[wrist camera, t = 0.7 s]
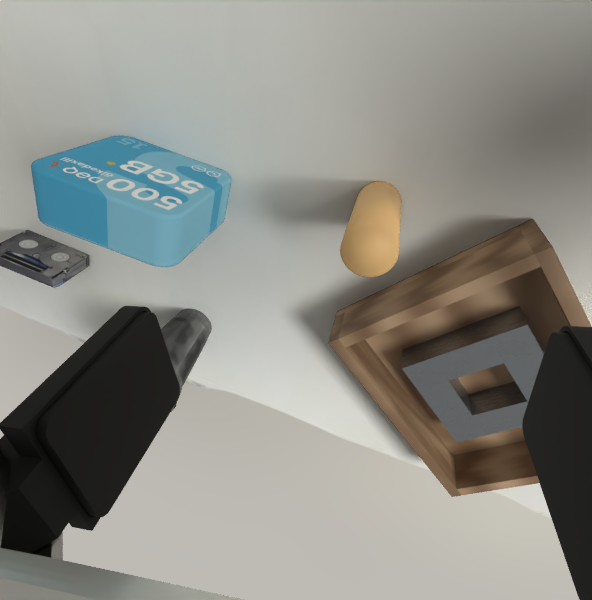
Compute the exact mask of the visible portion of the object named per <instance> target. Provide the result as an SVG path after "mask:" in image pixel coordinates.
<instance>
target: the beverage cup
mask: <svg viewBox="0 0 592 600" xmlns="http://www.w3.org/2000/svg"><path fill="white" fill-rule="evenodd" d="M211 329H212V328H211V323H210V321H209V319H208V318H207V317H206V316H205V315H204V314H202V313H201V312H199V311H197V310H194V309H185V310H183V311H181V312H180V314H178V315H177V316H176V317H174V318H173V319H172V320H171V321H170V322H169V323H167V324H166V325H165V326H164V327H163V328H162V329H161V332H162V335H163V338H164V341H165V344H166V347H167V350H168V353H169V356H170V359H171V362H172V365H173V367H174V370H175V373H176V376H177V379H178V382H179V385H180V393H181V390H182V386H183V384H184V383H185V381H186V379H187V377H188V375H189V373H190V371H191V370H192V368H193V366H194V364H195V362H196V360H197V358H198V356H199V355H200V353H201V351H202V349H203V347H204V345H205V343H206V341H207V338H208V336H209V334H210V333H211ZM176 403H177V402H176ZM175 407H176V404H175V405H174V407H173V408H172V410H173V409H174V408H175ZM172 410H171V411H172Z"/></svg>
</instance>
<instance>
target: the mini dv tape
mask: <svg viewBox="0 0 592 600" xmlns="http://www.w3.org/2000/svg"><path fill="white" fill-rule="evenodd" d="M89 265H90V264H89V255H88V254H86V253H83V252H81V251H78V250H76V249H73V248H71V247H68V246H66V245H64V244H61V243H59V242H56V241H54V240H51V239H49V238H46V237H44V236H41V235H39V234H37V233H34V232H32V231H29V230H26V231H24V232H22V233H20V234H18V235H16V236H14V237H12V238H10V239H8V240H6V241H4V242H2V243H0V266H2V267H5V268H7V269H10V270H12V271H14V272H17V273H19V274H22V275H24V276H27V277H29V278H32V279H34V280H37V281H39V282H41V283H44V284H46V285H49V286H51V287H54V288H55V287H58V286H60V285H62V284H63V283H64V282H66V281H67V280H69V279H70V278H72V277H73V276H75V275H76V274H78V273H79V272H81V271H82V270H84V269H85V268H86V267H88V266H89Z"/></svg>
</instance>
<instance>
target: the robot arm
mask: <svg viewBox="0 0 592 600" xmlns="http://www.w3.org/2000/svg"><path fill="white" fill-rule="evenodd" d="M179 395H180V385H179V382H178V379H177V376H176V373H175V370H174V367H173V365H172V362H171V359H170V356H169V353H168V350H167V347H166V344H165V341H164V338H163V335H162V332H161V329H160V326H159V323H158V320H157V317H156V315H155V314H154V313H151V311H150V310H149V309H148V308H147V307H138V306H124V307H122V308H121V309H120V310H119V311H118V312H117V313H116V314H115V315H114V316H112V317H111V318H110V319H109V320H108V321H107V322H106V323H105V324H104V325H103V326H102V327H101V328H100V329H99V330H98V331H97V332H96V333H95V334H94V335H92V336H91V337H90V338H89V339H88V340H87V341H86V342H85V343H84V344H83V345H82V346H81V347H80V348H79V349H78V350H77V351H76V352H75V353H74V354H73V355H71V356H70V357H69V358H68V359H67V360H66V361H65V362H64V363H63V364H62V365H61V366H60V367H59V368H58V369H57V370H56V371H55V372H54V373H52V375H50V377H48V378H47V379H46V380H45V381H44V382H43V383H42V384H41V385H40V386H39V387H38V388H37V389H36V390H35V391H34V392H33V393H31V394H30V395H29V396H28V397H27V398H26V399H25V400H24V401H23V402H22V403H21V404H20V405H19V406H18V407H17V408H16V409H15V410H14V411H12V412H11V413H10V414H9V416H7V417H6V418H5V419H4V420H3V421H2V422H1V423H0V429H1V431H2V432H3V434H4V436H3V437H2V438H1V439H0V600H242V599H238V598H233V597H229V596H224V595H219V594H215V593H210V592H206V591H202V590H197V589H192V588H188V587H183V586H179V585H174V584H170V583H165V582H161V581H156V580H151V579H147V578H142V577H138V576H133V575H128V574H124V573H119V572H114V571H109V570H105V569H100V568H96V567H91V566H86V565H82V564H77V563H72V562H68V561H63V560H62V559H63V552H62V551H63V550H62V549H63V538H62V537H63V533H62V531H63V530H64V528H65V527H66V525H67V524H68V522H69V523H70V525H71V526H72V527H76V528H81V529H86V530H93V529H94V527H95V525H96V524H97V522H98V521H99V519H100V517H103V516H105V515H106V514H107V513H108V512H109V511H110V509H111V507H112V506H113V504H114V503H115V501H116V499H117V498H118V496H119V495H120V493H121V491H122V490H123V488H124V486H125V485H126V483H127V481H128V480H129V478H130V477H131V475H132V473H133V472H134V470H135V468H136V467H137V465H138V463H139V462H140V460H141V459H142V457H143V456H144V454H145V452H146V451H147V449H148V447H149V446H150V444H151V442H152V441H153V439H154V438H155V436H156V434H157V433H158V431H159V430H160V428H161V426H162V425H163V423H164V421H165V420H166V418H167V417H168V415H169V413H170V412H171V410H172V408H173V407H174V405H175V404H176V402H177V400H178V398H179ZM522 429H523V435H524V438H525V441H526V444H527V447H528V450H529V453H530V456H531V459H532V462H533V464H534V467H535V470H536V473H537V476H538V479H539V482H540V485H541V488H542V491H543V494H544V497H545V500H546V503H547V506H548V509H549V512H550V515H551V517H552V520H553V523H554V526H555V529H556V532H557V535H558V538H559V541H560V544H561V547H562V550H563V553H564V556H565V559H566V562H567V564H568V567H569V571H570V573H571V576H572V579H573V582H574V585H575V588H576V591H577V594H578V596H579V599H580V600H592V327H580V326H564V327H562V328H561V329H560V331H559V332H553V333H552V334H551V335H550V337H549V340H548V343H547V346H546V349H545V352H544V355H543V358H542V361H541V365H540V368H539V371H538V374H537V377H536V380H535V383H534V386H533V389H532V392H531V395H530V398H529V402H528V405H527V408H526V411H525V414H524V417H523V422H522Z"/></svg>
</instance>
